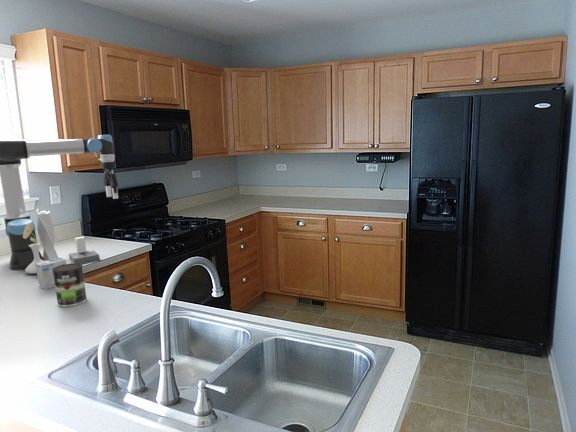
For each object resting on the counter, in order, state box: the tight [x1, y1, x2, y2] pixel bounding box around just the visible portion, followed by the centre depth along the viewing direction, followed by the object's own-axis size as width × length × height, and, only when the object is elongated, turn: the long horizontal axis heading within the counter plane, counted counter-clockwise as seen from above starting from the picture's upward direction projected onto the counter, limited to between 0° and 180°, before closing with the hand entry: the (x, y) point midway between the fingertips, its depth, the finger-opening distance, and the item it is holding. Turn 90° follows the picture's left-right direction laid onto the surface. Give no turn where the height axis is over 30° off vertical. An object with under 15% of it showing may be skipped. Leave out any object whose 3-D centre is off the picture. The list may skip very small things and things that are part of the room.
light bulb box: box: [35, 256, 68, 290], centre depth 188 cm, size 11×7×11 cm, turn 141°
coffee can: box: [52, 263, 88, 308], centre depth 165 cm, size 10×10×14 cm
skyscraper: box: [36, 208, 59, 261], centre depth 227 cm, size 8×8×28 cm
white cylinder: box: [74, 236, 87, 253], centre depth 229 cm, size 4×4×8 cm
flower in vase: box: [23, 223, 44, 275], centre depth 205 cm, size 13×11×25 cm
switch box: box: [68, 249, 100, 265], centre depth 226 cm, size 12×14×3 cm
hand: (112, 197), depth 255 cm, fingers open, 13 cm apart
